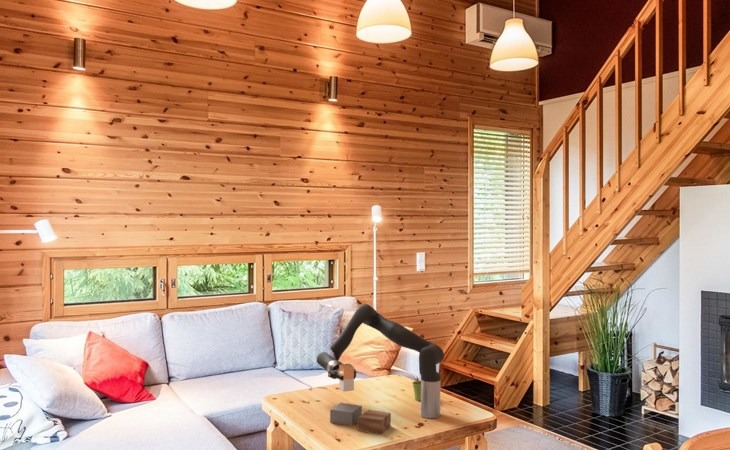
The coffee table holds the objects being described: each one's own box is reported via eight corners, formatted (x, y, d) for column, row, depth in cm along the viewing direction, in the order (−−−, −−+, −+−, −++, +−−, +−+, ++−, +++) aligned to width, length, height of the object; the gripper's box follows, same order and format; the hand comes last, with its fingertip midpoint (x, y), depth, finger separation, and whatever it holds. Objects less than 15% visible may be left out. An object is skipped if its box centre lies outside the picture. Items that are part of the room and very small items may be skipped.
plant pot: (419, 395, 315) (420, 379, 315) (433, 399, 308) (434, 383, 308) (408, 399, 308) (408, 382, 308) (422, 403, 302) (422, 386, 301)
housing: (349, 387, 279) (349, 363, 279) (353, 390, 273) (353, 366, 273) (339, 388, 277) (339, 364, 277) (343, 391, 272) (343, 367, 272)
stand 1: (340, 415, 283) (340, 402, 283) (361, 418, 278) (361, 405, 278) (330, 422, 273) (330, 409, 273) (351, 425, 268) (351, 412, 268)
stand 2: (368, 422, 273) (368, 409, 273) (390, 426, 268) (390, 412, 268) (358, 430, 263) (358, 416, 263) (381, 434, 258) (381, 420, 258)
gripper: (322, 362, 286) (333, 371, 270) (350, 360, 291) (363, 368, 275) (322, 378, 286) (333, 387, 270) (350, 375, 291) (363, 384, 275)
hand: (348, 377), depth 273 cm, fingers closed on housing, 5 cm apart
